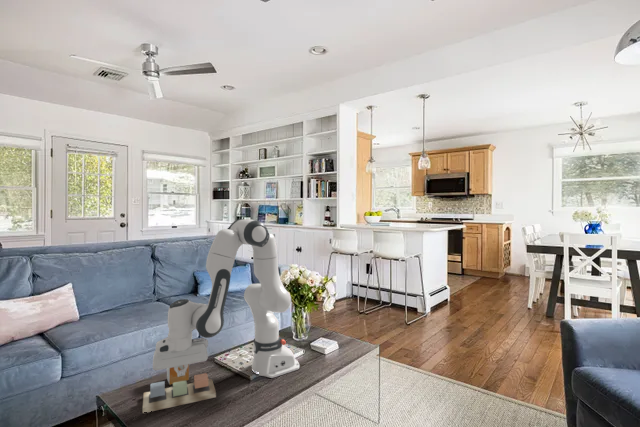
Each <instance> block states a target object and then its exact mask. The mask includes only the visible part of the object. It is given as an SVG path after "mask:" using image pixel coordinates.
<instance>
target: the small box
mask: <svg viewBox="0 0 640 427" xmlns="http://www.w3.org/2000/svg"><path fill="white" fill-rule="evenodd" d="M183 369H184V365H183V366H178V370H179V371H180V370H183ZM166 379H167V382H168V385H173V383H174V382H180V381H185V380H186V381H189V379H190V364H188V368H187V370H186V371H185V376H180V377H177V373H176V371H175V370H174V367H173V368H168V369H166Z"/></svg>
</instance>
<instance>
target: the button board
mask: <svg viewBox="0 0 640 427" xmlns="http://www.w3.org/2000/svg"><path fill="white" fill-rule="evenodd" d="M142 397H143V398H142V414H145V413H144V412H147V413H150V412H151V411H152V412H155V411H159V410H164V409H165V410H166V409H169V408H173V407H178V406H182V405H187V404H192V403H196V402H200V401H204V400H209V399H213V398H217V392H216V388H215V385H214V382H213V379H212V378H210V379H208V386H206V387H201V388H196V389H195V385H194V382H191V383H187V394H184V395H179V396H174V397H173V386H170V387H166V388H165V395H163V396H158V397H153V398H150V391H145V392H143V396H142ZM152 412H151V413H152Z"/></svg>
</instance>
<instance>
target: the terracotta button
mask: <svg viewBox="0 0 640 427" xmlns="http://www.w3.org/2000/svg"><path fill="white" fill-rule="evenodd" d="M208 380H209V377H208V373H207V372H204V373H199V374H194V375H193V383H194V385H195V389H196V388H201V387H206V386H208Z"/></svg>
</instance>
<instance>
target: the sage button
mask: <svg viewBox="0 0 640 427" xmlns="http://www.w3.org/2000/svg"><path fill="white" fill-rule="evenodd" d="M187 384H188V382H187V380H185V381H180V382H174V383H173V384H172V387H173V397H174V396H179V395H184V394H187Z"/></svg>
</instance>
